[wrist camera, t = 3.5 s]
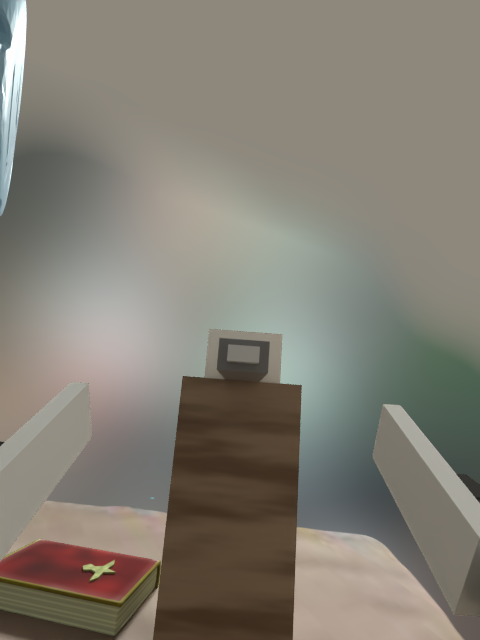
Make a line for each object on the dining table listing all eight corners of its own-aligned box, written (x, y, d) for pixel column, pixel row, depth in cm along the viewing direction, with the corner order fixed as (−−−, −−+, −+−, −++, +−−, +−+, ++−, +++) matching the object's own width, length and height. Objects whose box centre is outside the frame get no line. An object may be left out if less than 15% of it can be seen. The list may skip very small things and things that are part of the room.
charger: (302, 374, 25) (305, 297, 27) (182, 365, 25) (190, 289, 27) (273, 386, 49) (275, 345, 51) (211, 381, 50) (214, 340, 51)
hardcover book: (35, 565, 55) (41, 536, 56) (158, 589, 51) (161, 557, 52) (-36, 607, 43) (-27, 570, 44) (115, 643, 39) (121, 601, 40)
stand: (290, 697, 33) (301, 385, 40) (148, 683, 34) (182, 376, 40) (279, 629, 43) (289, 387, 50) (169, 619, 43) (194, 380, 50)
